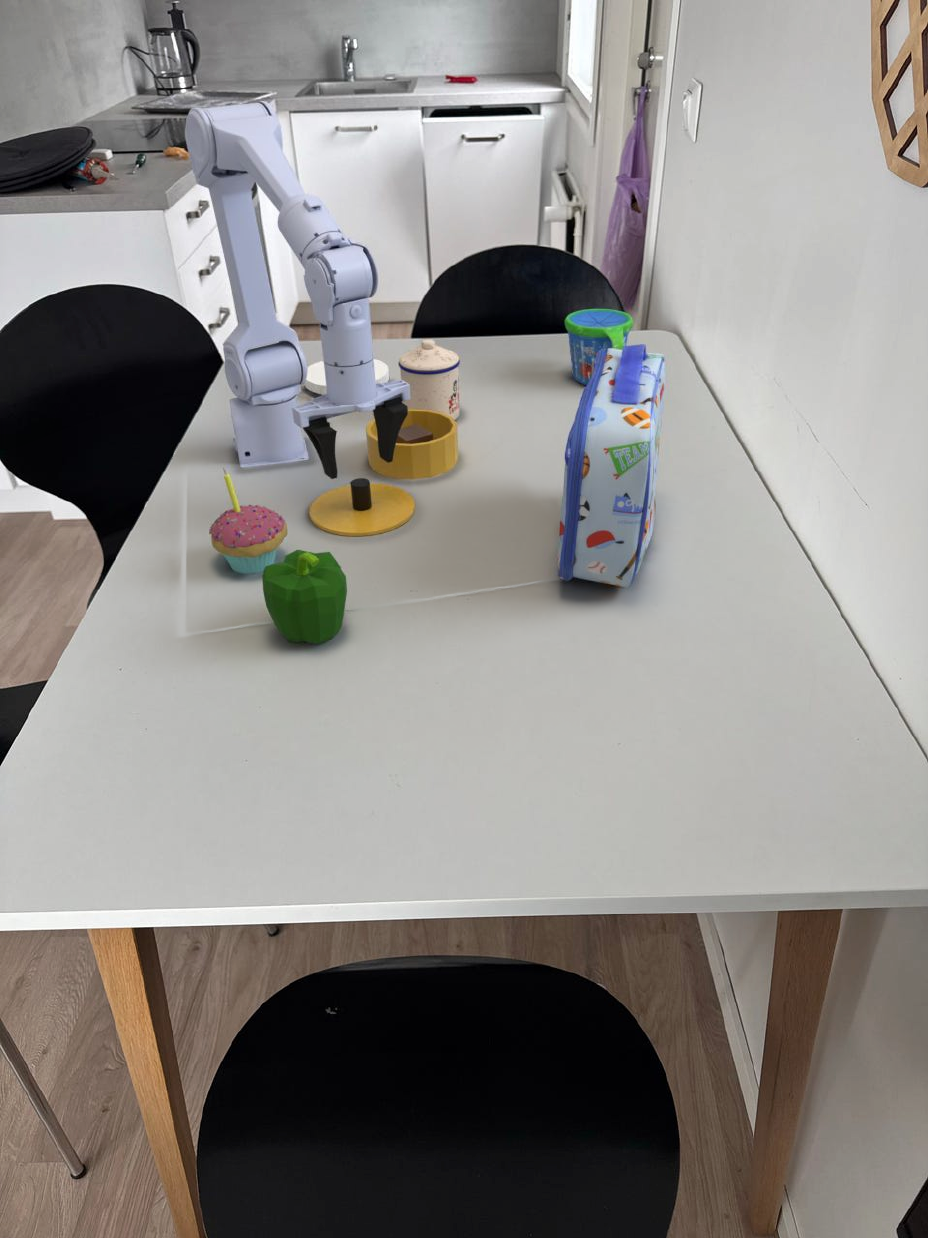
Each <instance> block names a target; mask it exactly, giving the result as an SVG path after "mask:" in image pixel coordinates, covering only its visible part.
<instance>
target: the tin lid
mask: <svg viewBox="0 0 928 1238" xmlns="http://www.w3.org/2000/svg"><path fill="white" fill-rule="evenodd" d="M415 511H416V502H415V500H414V498H413V496H412V495H411V494H410V493H409V492H407V491H406V490H404V489H402V488H399V487H397V486H394V485H389V484H384V483H375V482H374V483H373V482H371V480H369V479H368V478H365V477H364V478H363V477H358V478H354V479H352V480H351V481H350V484H347V485H342V486H339V487H336V488H333V489H331V490H328V491H326V492H324V493H322V494H320V495H319V496H317V498H316V499H315V500H313V502H312V503H311V504H310V507H309V518H310V521H311V522H312V523H313V525H315V526H316V527H317V528H318V529H320V530H322V531H324V532H327V533H329V534H334V535H338V536H345V537H365V536H366V537H367V536H373V535H374V536H375V535H379V534H383V533H387V532H391V531H393V530H395V529H398V528H400V527H401V526H403V525H404V524H406V523H407V522H409V521H410V520H411V518H412V517H413V516H414V514H415Z"/></svg>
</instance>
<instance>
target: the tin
mask: <svg viewBox="0 0 928 1238" xmlns="http://www.w3.org/2000/svg"><path fill="white" fill-rule="evenodd" d="M414 424H418V425H420V426H422V427H423V428H425V429H426V430H428V431H430V432H431V433H433V440H432V441H429V442H423V443H415V444H402V443H396V445H395V449H394V455H393V461H392V462H389V463H387V462H386V461H385V460H383V459H382V458H380V455H379V450H378V437H377V428H376V422H375V418H373V419H371V420H370V421H369V422H368V424H367V426H366V427H365V436H366V447H367V459H368V464H369V466H370V469H371V470H372V471H374V472H376V473H377V474H379V475H380V476H384V477H389V478H392V479H398V480H419V479H428V478H432V477H436V476H439V475H442V474H445V473H447V472H448V471H450V470H451V469H453V468H454V467H455V466H456V465H457V463H458V460H459V439H458V437H459V435H458V424H457V422H456V420H454V419H453V418H452V417H450V416H448V415H446V414H444V413H441V412H436V411H432V410H420V409H409V410H408V415H407V416H406V418H405V420H404V422H403V424H402V426H401V428H403V427H407V426H411V425H414Z"/></svg>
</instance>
